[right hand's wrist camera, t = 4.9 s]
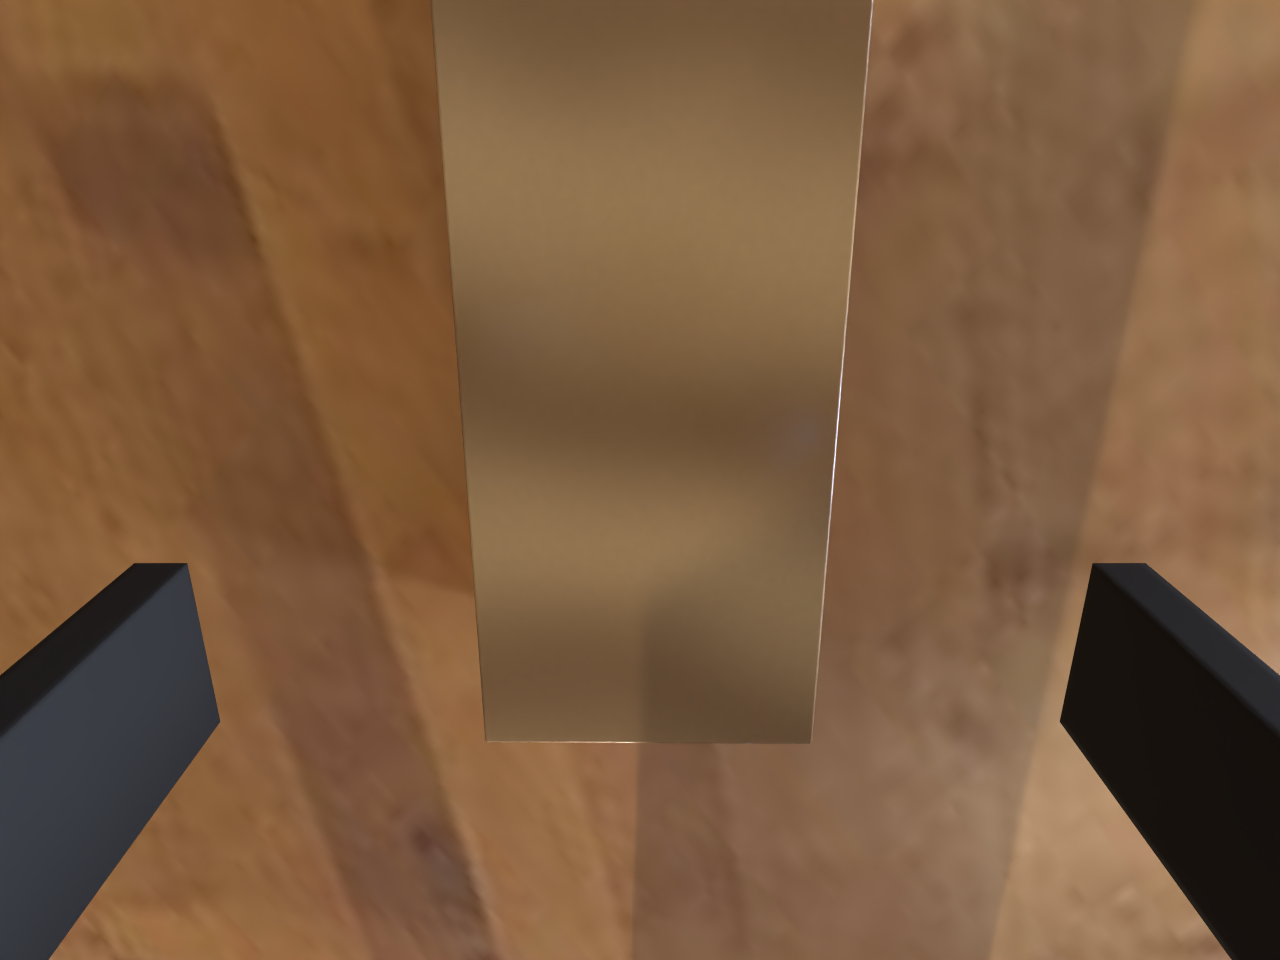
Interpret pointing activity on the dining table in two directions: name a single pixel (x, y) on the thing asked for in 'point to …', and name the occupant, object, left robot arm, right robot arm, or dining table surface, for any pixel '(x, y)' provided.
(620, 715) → the thick board
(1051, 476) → the dining table surface
